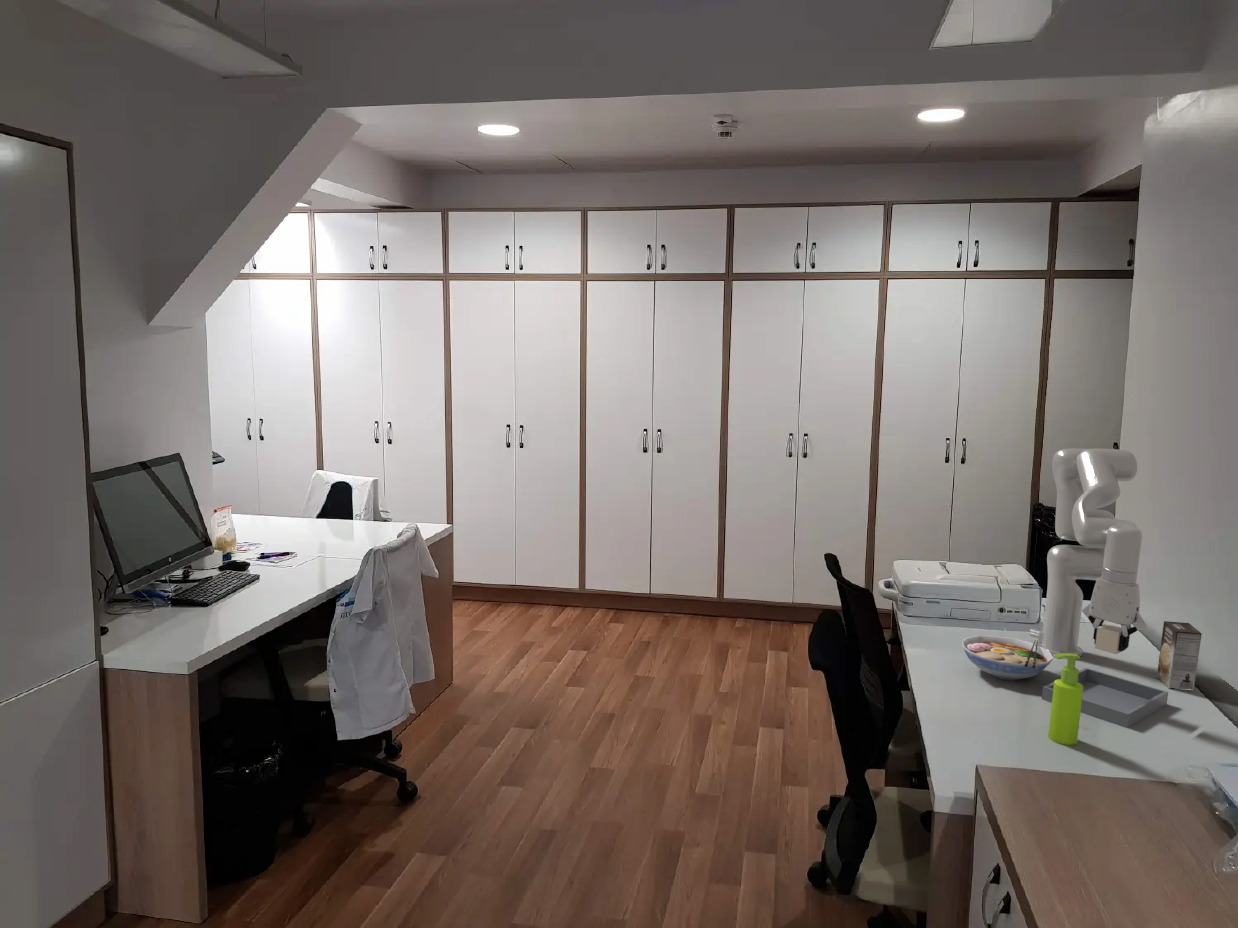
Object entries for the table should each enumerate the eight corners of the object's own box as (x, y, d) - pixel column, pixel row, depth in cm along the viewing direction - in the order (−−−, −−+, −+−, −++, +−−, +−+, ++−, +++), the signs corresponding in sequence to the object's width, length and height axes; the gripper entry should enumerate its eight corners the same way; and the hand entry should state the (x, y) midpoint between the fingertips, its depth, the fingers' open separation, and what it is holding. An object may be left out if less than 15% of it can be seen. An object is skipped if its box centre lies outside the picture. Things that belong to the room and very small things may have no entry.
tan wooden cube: (1094, 648, 223) (1097, 627, 222) (1103, 644, 226) (1106, 623, 225) (1115, 654, 219) (1118, 632, 218) (1124, 650, 222) (1127, 628, 221)
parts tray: (1041, 701, 224) (1042, 686, 223) (1084, 681, 239) (1085, 667, 239) (1126, 730, 209) (1128, 714, 208) (1166, 707, 224) (1168, 691, 223)
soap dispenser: (1038, 733, 205) (1047, 649, 203) (1067, 733, 206) (1076, 649, 203) (1053, 744, 199) (1062, 658, 197) (1082, 744, 200) (1092, 659, 197)
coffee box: (1155, 676, 245) (1162, 620, 243) (1181, 679, 244) (1188, 622, 242) (1168, 689, 236) (1176, 630, 234) (1195, 691, 235) (1203, 632, 233)
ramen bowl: (966, 653, 258) (969, 626, 257) (1054, 670, 247) (1057, 641, 246) (951, 680, 237) (954, 650, 235) (1046, 700, 225) (1049, 669, 224)
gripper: (1076, 569, 224) (1068, 639, 226) (1150, 587, 211) (1140, 660, 213) (1090, 565, 228) (1081, 633, 231) (1163, 582, 215) (1153, 654, 218)
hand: (1110, 645), depth 222 cm, fingers closed on tan wooden cube, 5 cm apart
